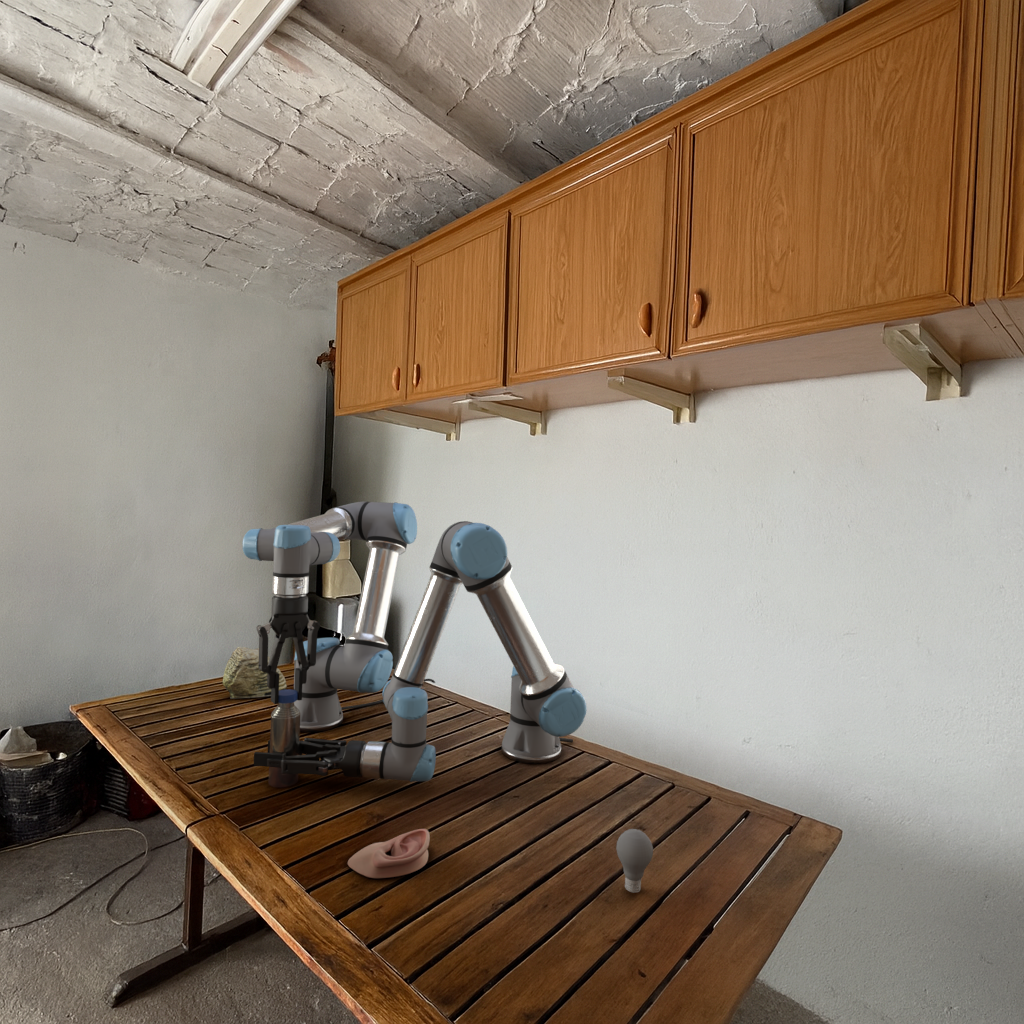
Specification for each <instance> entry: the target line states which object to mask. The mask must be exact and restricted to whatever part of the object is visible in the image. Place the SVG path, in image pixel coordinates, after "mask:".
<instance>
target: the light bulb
mask: <svg viewBox="0 0 1024 1024" xmlns="http://www.w3.org/2000/svg"><path fill="white" fill-rule="evenodd" d="M615 849H616V854H617V857H618V859H619V861H620V863H621V865H622V867H623V873H624V874H623V875H624V876H625V878H624V888H625V890H627V891H628V892H630V893H634V894H635V893H639V892H640V891H641V889H642V887H641V886H642V879H643V877H644V875H645V871H646V868H647V867H648V866H649V864H650V863H651V861H652V859H653V855H654V847H653V843H652V841H651V838H649V836H648V835H647V834H646V833H645V832H643V831H642V830H641V829H636V828H629V829H627V830H625V831H623V832H622V833H621V834H620V835H619V837H618V839H617V841H616V847H615Z"/></svg>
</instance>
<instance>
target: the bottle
mask: <svg viewBox="0 0 1024 1024" xmlns="http://www.w3.org/2000/svg"><path fill="white" fill-rule="evenodd" d="M300 738H301V731H300V710H299V709H298V708H297V707H296V706H295V705H294V702H292V703H278V704H277V706H276V707H275V708H274V709H273V711H272V712H271V714H270V732H269V740H270V753H280V754H283V753H286V756H295V755H299V741H301V739H300ZM298 781H299V774H288V773H282V768H281V767H268V785H269V786H270V787H273V788H287V787H291V786H293V785H296V784H297V783H298Z"/></svg>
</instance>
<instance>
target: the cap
mask: <svg viewBox="0 0 1024 1024" xmlns="http://www.w3.org/2000/svg"><path fill="white" fill-rule="evenodd" d="M297 699H298V694H297V691H296V690H294V689H291V688H290V689H287V688H286V690H280V691H279V698H278V703H292V702H295V701H297Z"/></svg>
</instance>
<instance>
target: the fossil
mask: <svg viewBox="0 0 1024 1024" xmlns="http://www.w3.org/2000/svg"><path fill="white" fill-rule="evenodd" d="M269 659H270V655H268V663H269ZM258 667H259V647H258V648H251V647H247V646H246V647H245V646H238V647H237V648H236V649H235V650H233V651H232V653H231V656H230V657H229V659H228V660H227V663H226V666H225V668H224V671H223V675H222V676H223V677H222V685H223V687H224V688H225V690H226V691H228V693H229V698H230V699H250V698H264V697H271V689H270V688H268V686H267V673H266V672H262V671H261V670H260V669H259V668H258ZM276 672H277V673H279V691H280V690H286V689H287V687H288V686H287V680H286V678H285V676H284V674H283V673H282V672H281V669H279V668H278V667H277V670H276Z"/></svg>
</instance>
